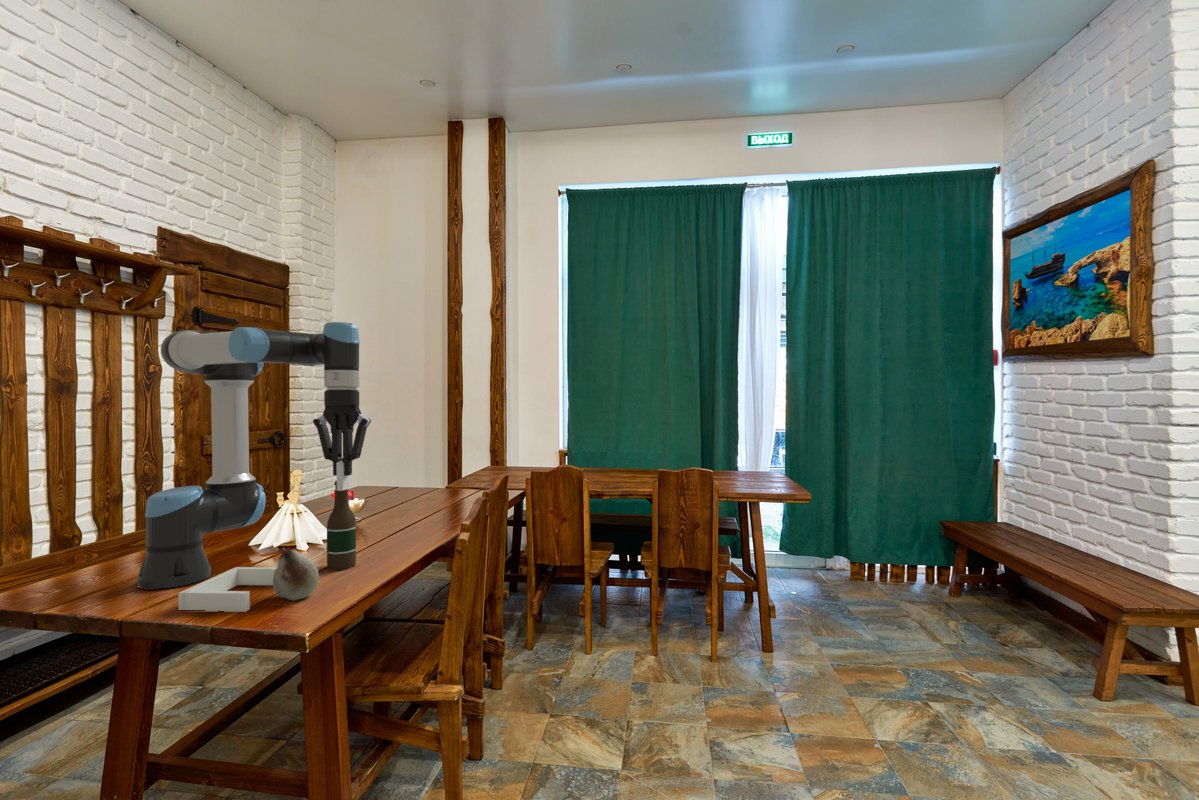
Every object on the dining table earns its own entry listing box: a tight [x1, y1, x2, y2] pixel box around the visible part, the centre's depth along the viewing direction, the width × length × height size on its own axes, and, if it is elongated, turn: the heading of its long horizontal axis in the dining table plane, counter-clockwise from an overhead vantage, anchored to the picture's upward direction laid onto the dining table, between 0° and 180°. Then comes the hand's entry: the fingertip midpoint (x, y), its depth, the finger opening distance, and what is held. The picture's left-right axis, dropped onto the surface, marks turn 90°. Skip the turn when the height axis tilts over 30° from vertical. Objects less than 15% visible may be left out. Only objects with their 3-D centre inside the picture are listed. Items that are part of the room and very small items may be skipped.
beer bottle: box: [326, 479, 357, 571], centre depth 158 cm, size 8×8×24 cm
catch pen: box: [178, 566, 277, 613], centre depth 135 cm, size 15×19×4 cm
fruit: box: [272, 546, 320, 602], centre depth 134 cm, size 10×9×12 cm
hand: (342, 489), depth 134 cm, fingers closed
